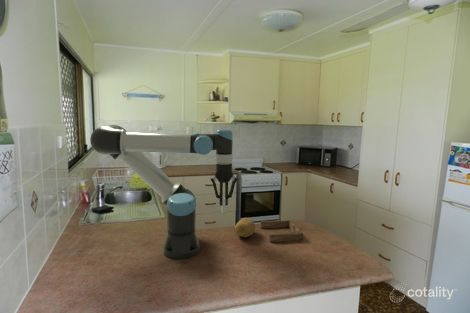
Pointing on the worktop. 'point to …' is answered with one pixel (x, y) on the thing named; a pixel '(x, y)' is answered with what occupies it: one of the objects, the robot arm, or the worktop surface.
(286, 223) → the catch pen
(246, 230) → the potato
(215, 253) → the worktop surface
